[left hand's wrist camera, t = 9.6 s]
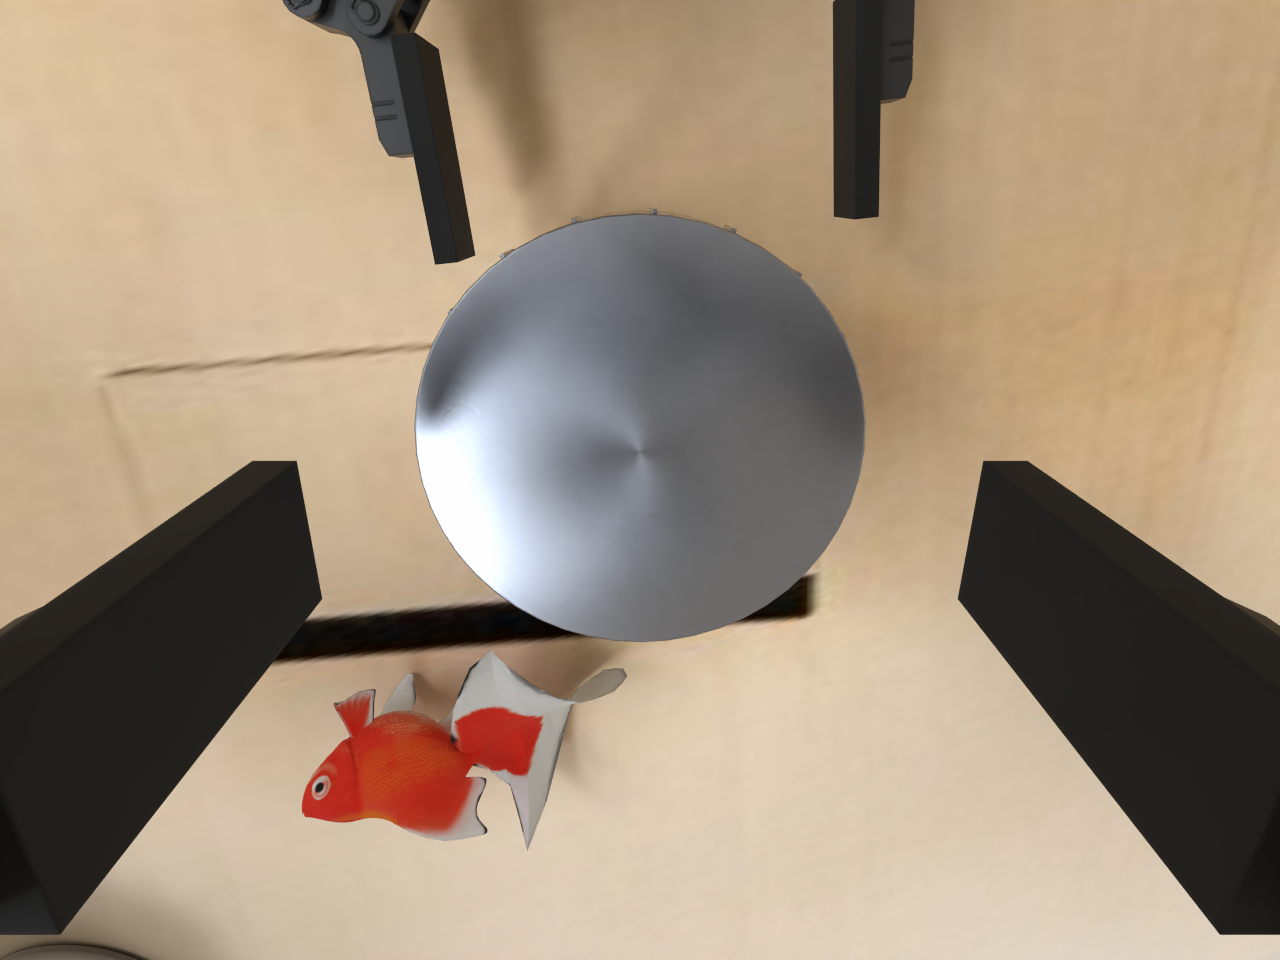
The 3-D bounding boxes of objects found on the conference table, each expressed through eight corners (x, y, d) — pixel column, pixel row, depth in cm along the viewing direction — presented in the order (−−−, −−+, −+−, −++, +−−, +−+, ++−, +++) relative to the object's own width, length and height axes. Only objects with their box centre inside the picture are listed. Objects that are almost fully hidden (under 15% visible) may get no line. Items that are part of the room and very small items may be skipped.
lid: (367, 279, 17) (335, 289, 15) (804, 149, 16) (824, 143, 14) (512, 639, 21) (501, 682, 19) (875, 552, 20) (899, 589, 18)
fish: (258, 622, 32) (276, 841, 25) (591, 545, 38) (676, 706, 31) (301, 750, 39) (324, 948, 32) (577, 667, 45) (644, 820, 38)
